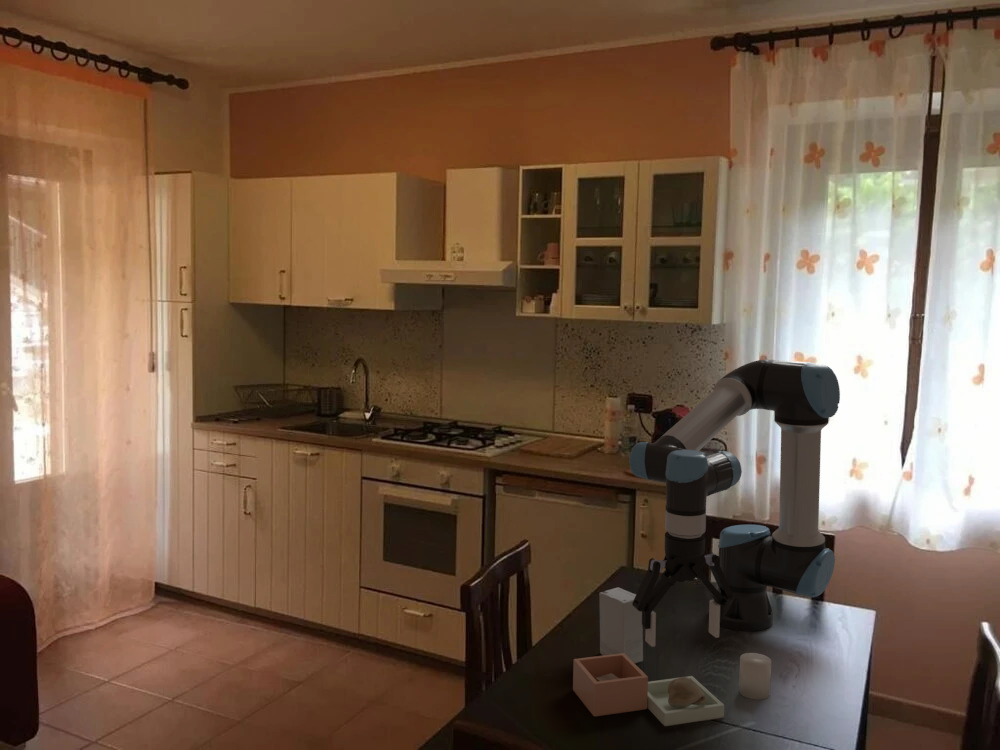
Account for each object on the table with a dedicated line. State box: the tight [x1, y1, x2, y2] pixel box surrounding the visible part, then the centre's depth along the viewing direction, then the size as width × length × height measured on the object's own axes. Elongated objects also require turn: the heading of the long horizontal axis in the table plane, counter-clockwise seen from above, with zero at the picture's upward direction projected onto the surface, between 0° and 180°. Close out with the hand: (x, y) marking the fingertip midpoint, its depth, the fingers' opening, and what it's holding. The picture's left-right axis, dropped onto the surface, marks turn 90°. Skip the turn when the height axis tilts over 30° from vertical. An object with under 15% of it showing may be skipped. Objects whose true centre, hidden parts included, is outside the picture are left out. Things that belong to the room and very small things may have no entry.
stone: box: [668, 676, 706, 707], centre depth 165 cm, size 7×6×8 cm
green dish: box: [647, 675, 725, 727], centre depth 167 cm, size 12×12×3 cm
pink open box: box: [572, 653, 649, 718], centre depth 169 cm, size 11×11×7 cm
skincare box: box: [598, 587, 644, 664], centre depth 187 cm, size 8×6×15 cm
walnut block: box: [595, 673, 620, 682], centre depth 169 cm, size 4×4×4 cm
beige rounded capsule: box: [738, 652, 772, 701], centre depth 173 cm, size 6×6×7 cm
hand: (682, 639), depth 166 cm, fingers open, 13 cm apart
